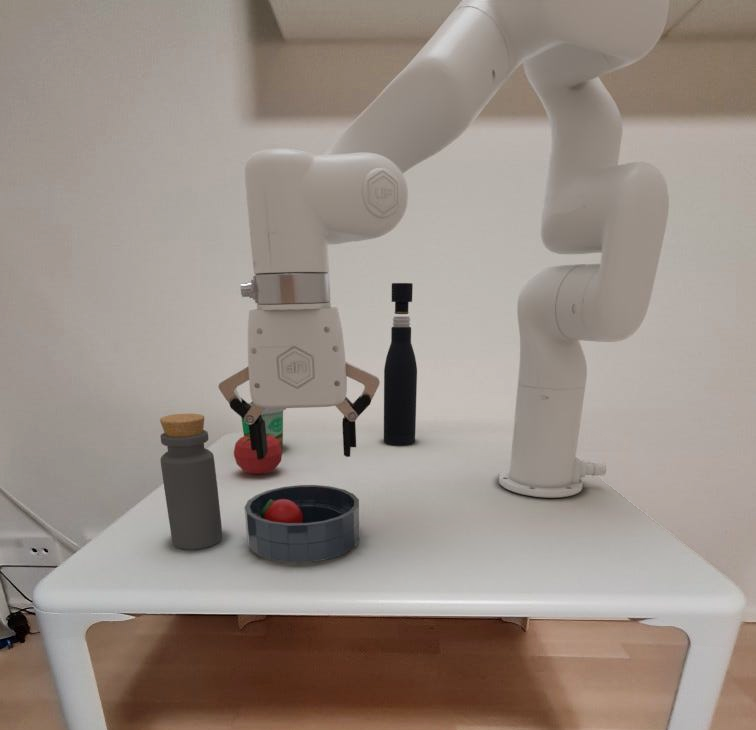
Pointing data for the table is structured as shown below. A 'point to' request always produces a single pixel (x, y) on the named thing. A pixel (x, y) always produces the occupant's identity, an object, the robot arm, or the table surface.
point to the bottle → (190, 483)
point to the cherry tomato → (282, 511)
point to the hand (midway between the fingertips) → (305, 454)
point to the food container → (270, 423)
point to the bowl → (305, 524)
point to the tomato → (248, 457)
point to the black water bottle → (400, 375)
